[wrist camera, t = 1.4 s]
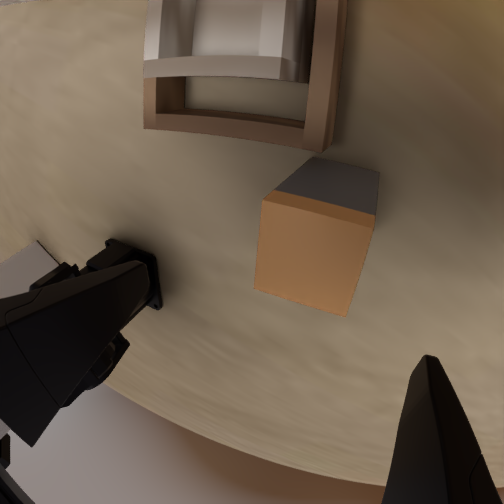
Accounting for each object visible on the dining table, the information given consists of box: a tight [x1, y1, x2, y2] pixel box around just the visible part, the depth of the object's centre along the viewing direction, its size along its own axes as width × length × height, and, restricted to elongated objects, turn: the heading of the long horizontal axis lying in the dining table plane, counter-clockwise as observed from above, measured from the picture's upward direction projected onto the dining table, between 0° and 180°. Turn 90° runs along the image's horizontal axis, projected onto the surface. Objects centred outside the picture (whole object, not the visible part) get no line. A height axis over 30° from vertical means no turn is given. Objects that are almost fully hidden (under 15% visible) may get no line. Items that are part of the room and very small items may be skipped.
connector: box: [254, 157, 379, 317], centre depth 14 cm, size 4×4×8 cm
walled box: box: [143, 0, 347, 153], centre depth 13 cm, size 12×11×5 cm
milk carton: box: [0, 241, 59, 299], centre depth 32 cm, size 7×7×19 cm
